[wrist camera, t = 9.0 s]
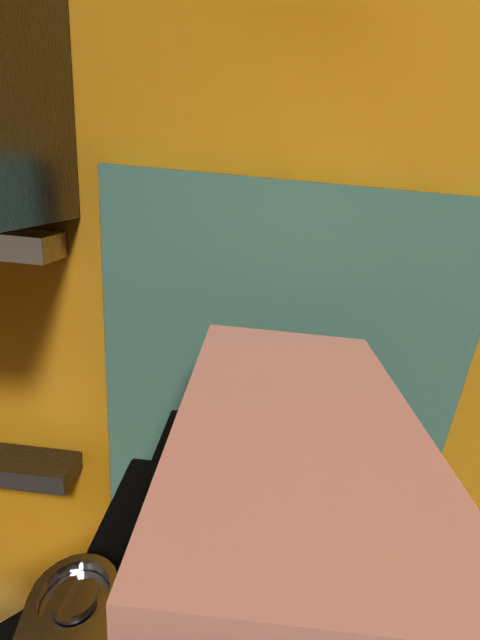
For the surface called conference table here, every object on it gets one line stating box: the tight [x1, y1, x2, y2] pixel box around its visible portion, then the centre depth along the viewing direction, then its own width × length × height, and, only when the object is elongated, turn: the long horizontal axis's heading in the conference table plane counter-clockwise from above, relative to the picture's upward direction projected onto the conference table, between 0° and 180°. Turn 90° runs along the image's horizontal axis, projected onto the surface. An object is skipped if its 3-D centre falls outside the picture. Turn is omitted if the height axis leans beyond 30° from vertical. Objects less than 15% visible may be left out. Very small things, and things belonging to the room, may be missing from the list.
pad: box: [98, 163, 480, 501], centre depth 14 cm, size 12×14×1 cm
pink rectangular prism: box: [106, 324, 480, 640], centre depth 8 cm, size 4×7×7 cm, turn 175°
